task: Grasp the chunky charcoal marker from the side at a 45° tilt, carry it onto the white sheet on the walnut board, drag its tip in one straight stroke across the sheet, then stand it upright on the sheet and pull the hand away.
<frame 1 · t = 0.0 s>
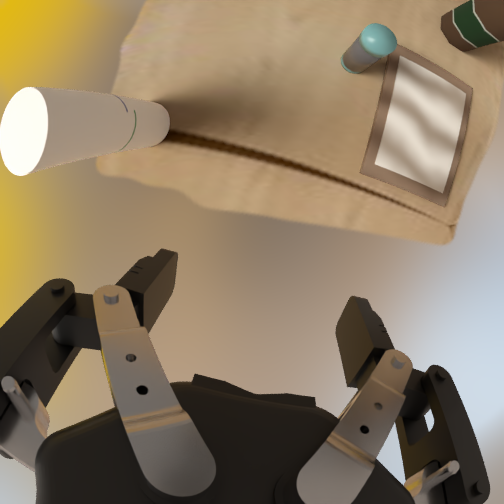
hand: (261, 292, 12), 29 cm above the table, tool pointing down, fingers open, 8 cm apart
beer bottle: (455, 33, 25), on the table
cylindrical container: (149, 124, 37), on the table
marker: (352, 62, 31), on the table
writing board: (422, 124, 33), on the table
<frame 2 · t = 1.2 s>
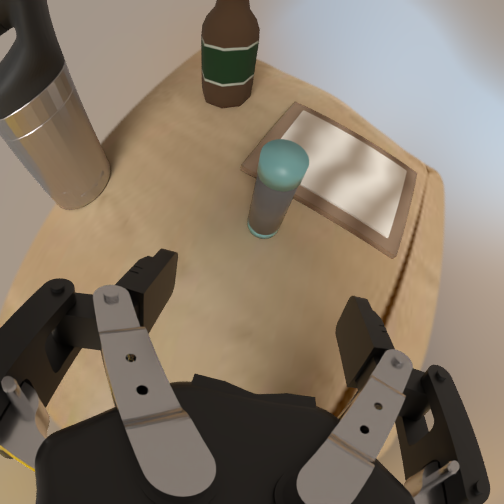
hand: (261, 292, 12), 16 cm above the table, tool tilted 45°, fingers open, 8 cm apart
beer bottle: (226, 95, 39), on the table
marker: (263, 223, 32), on the table
writing board: (340, 170, 36), on the table
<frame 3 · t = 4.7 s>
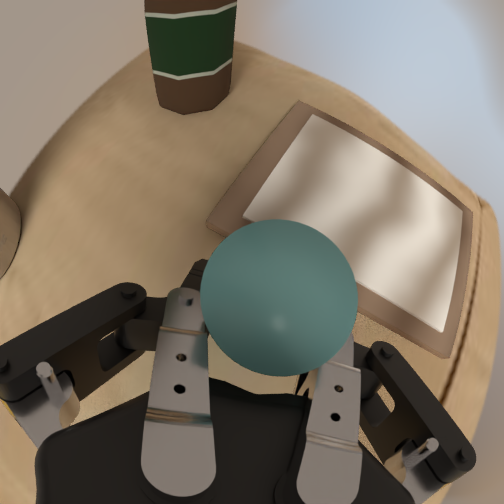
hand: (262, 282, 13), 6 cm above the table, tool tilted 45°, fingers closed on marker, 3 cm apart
beer bottle: (192, 94, 25), on the table
marker: (244, 331, 18), on the table, touching gripper
writing board: (374, 217, 22), on the table
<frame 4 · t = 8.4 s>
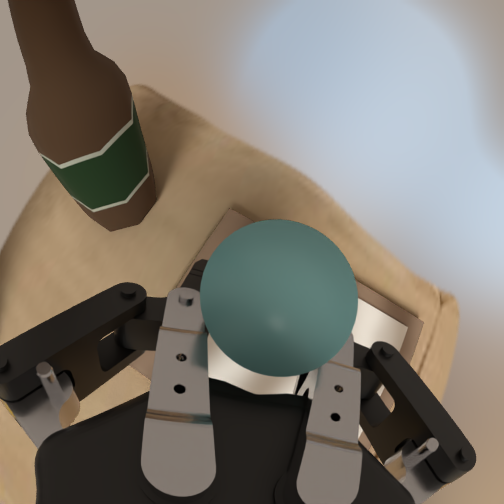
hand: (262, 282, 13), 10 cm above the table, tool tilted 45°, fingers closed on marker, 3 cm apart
beer bottle: (123, 199, 25), on the table
marker: (244, 331, 18), point 5 cm above the table, touching gripper
writing board: (294, 351, 22), on the table
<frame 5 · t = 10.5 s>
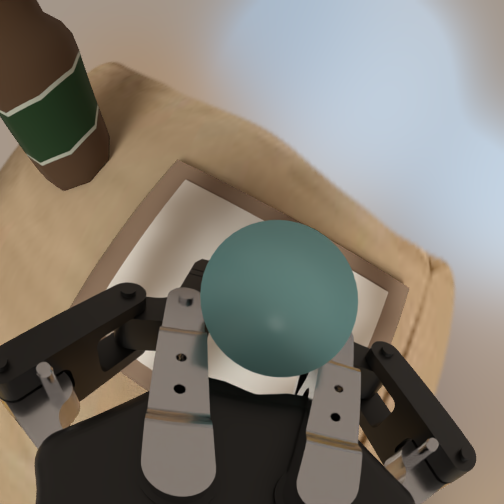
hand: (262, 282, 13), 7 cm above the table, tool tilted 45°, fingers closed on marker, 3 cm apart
beer bottle: (79, 161, 23), on the table
marker: (243, 331, 18), point 1 cm above the table, touching gripper
writing board: (243, 315, 19), on the table
when the fingers open (8 cm above the table, at t = 12.4 s): marker stays where it is, resting on writing board.
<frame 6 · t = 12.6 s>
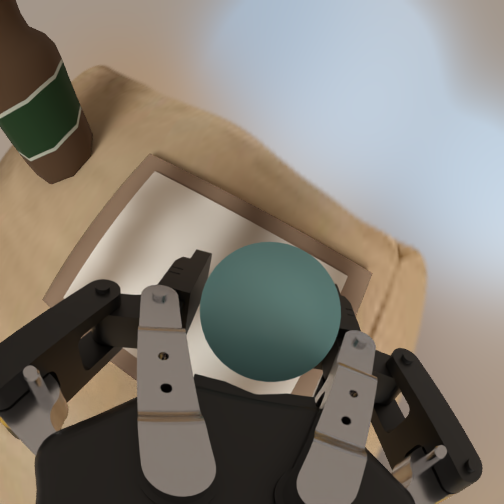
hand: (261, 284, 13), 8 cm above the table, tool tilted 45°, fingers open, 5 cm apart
beer bottle: (66, 157, 24), on the table
marker: (242, 333, 18), point 1 cm above the table, touching writing board
writing board: (201, 294, 20), on the table
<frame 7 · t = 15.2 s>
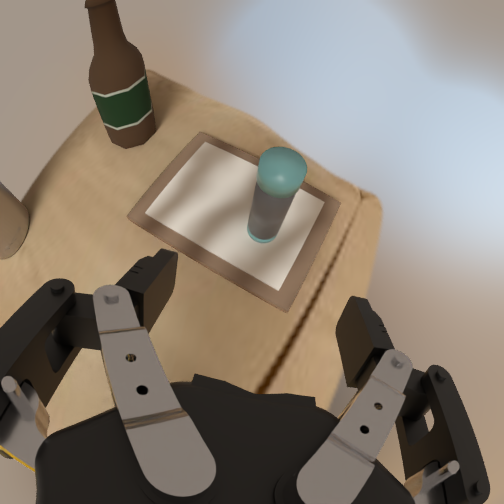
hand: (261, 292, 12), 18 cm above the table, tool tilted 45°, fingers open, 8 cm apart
beer bottle: (134, 132, 38), on the table
marker: (262, 228, 32), point 1 cm above the table, touching writing board
writing board: (236, 210, 34), on the table
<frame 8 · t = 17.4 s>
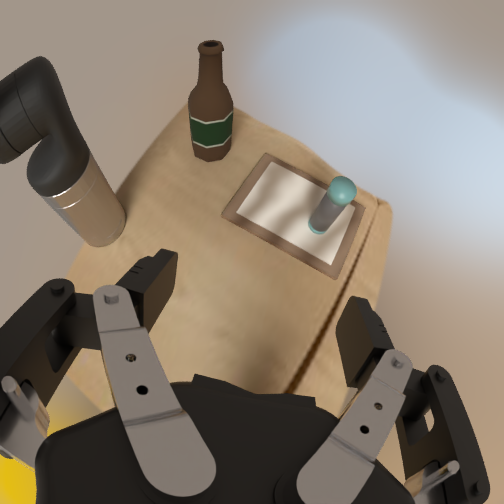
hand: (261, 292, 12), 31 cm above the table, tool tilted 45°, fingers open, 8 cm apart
beer bottle: (211, 149, 53), on the table
marker: (318, 224, 47), point 1 cm above the table, touching writing board
writing board: (298, 212, 49), on the table
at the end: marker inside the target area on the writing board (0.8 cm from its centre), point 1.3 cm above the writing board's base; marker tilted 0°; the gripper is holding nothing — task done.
